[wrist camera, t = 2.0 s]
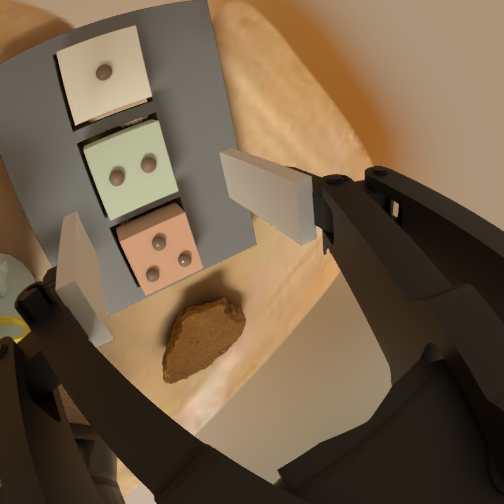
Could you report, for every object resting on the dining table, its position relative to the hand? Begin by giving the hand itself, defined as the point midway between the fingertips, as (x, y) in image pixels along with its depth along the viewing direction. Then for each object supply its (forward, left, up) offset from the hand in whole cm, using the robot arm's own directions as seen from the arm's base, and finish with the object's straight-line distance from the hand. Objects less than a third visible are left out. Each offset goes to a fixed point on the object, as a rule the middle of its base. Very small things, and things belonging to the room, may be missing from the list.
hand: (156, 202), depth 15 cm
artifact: (+1, -23, -14) cm, 27 cm away
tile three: (0, -8, -11) cm, 14 cm away
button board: (0, 0, -13) cm, 13 cm away
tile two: (0, 0, -11) cm, 11 cm away
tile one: (0, +8, -11) cm, 14 cm away
